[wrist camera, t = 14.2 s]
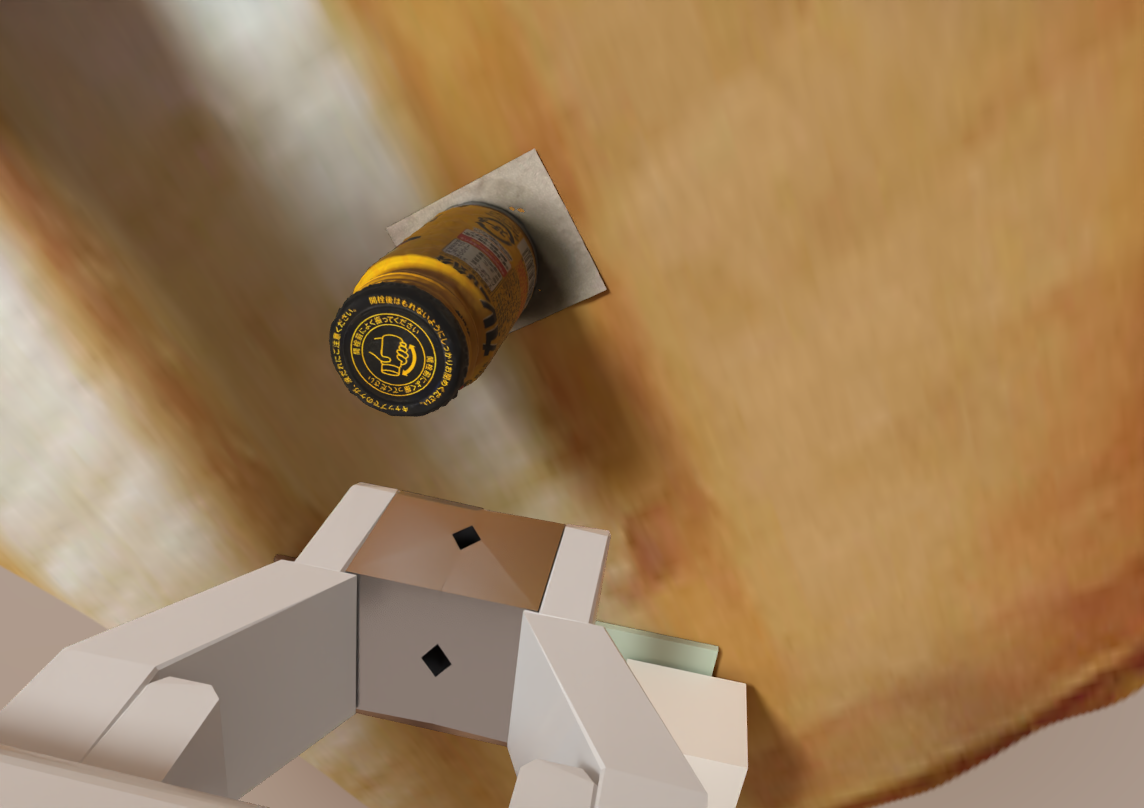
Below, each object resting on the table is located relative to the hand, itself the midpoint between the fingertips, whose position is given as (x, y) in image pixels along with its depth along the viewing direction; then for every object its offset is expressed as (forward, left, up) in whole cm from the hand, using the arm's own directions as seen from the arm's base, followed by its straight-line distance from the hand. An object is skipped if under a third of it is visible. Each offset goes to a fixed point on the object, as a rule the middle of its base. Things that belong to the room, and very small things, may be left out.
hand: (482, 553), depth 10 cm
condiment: (-7, -7, -31) cm, 33 cm away
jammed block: (+6, -32, -30) cm, 45 cm away
